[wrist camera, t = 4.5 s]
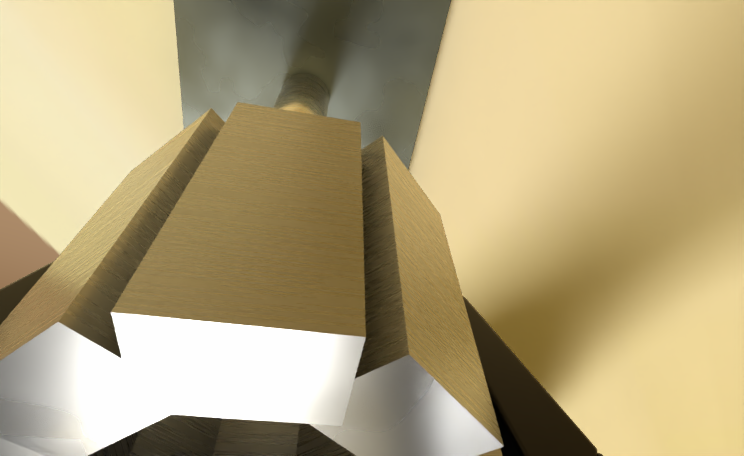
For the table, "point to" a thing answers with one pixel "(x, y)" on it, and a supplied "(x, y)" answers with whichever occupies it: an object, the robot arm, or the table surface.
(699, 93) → the table surface
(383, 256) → the hub ring
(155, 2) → the table surface
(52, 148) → the table surface
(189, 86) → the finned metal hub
